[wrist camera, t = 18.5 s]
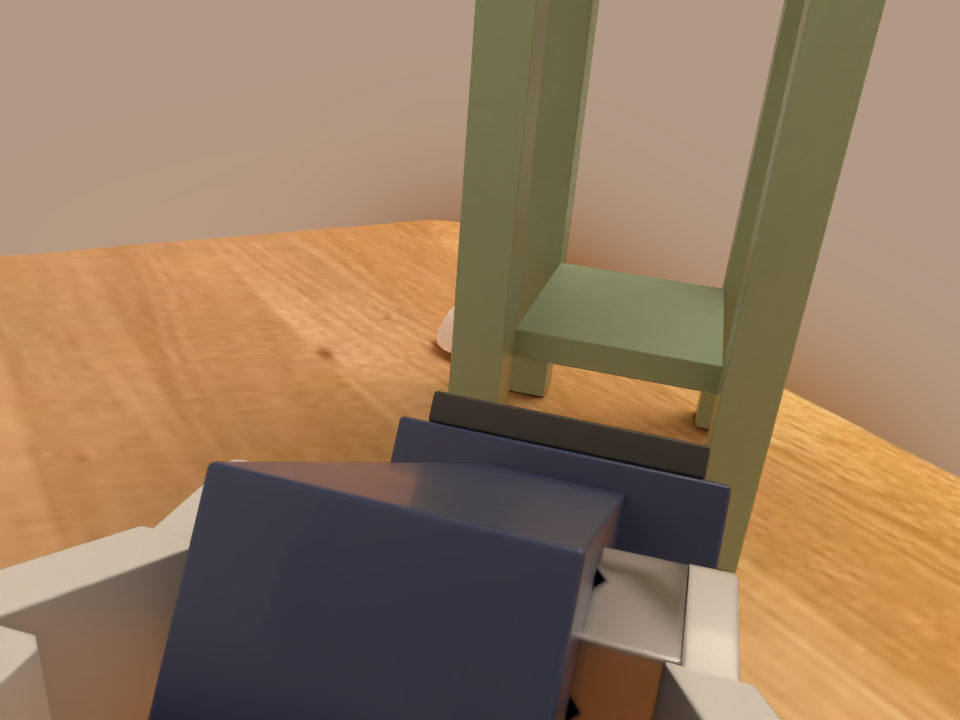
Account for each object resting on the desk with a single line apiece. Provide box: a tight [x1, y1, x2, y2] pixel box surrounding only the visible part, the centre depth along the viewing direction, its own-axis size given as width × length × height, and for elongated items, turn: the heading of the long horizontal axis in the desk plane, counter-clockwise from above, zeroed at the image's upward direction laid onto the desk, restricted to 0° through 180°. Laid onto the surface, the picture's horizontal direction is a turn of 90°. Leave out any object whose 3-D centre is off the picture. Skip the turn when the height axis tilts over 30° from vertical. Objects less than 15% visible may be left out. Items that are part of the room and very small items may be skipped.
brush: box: [148, 391, 732, 720], centre depth 16 cm, size 20×7×4 cm, turn 164°
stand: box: [449, 0, 886, 573], centre depth 33 cm, size 14×12×26 cm
